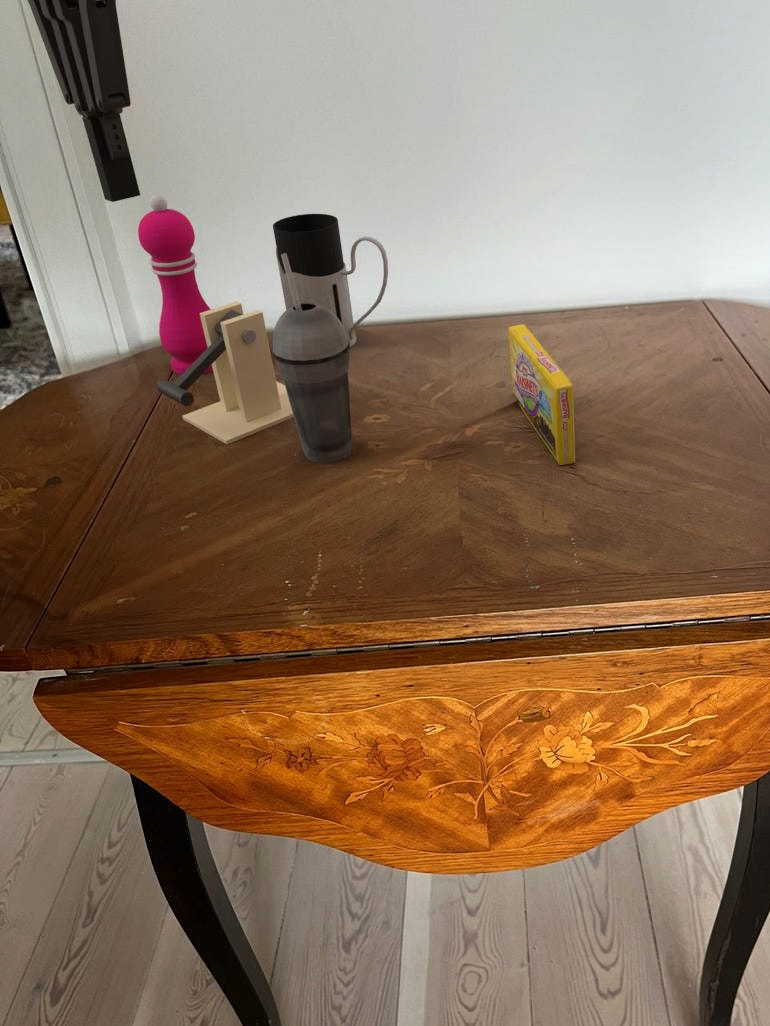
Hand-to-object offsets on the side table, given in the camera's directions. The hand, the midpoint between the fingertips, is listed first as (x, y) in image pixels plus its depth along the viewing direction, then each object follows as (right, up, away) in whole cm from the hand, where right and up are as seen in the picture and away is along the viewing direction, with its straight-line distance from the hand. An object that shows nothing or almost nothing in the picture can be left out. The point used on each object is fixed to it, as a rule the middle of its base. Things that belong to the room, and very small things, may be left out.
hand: (122, 197), depth 85 cm
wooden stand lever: (+4, -11, +13) cm, 18 cm away
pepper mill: (-2, -7, +31) cm, 32 cm away
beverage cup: (+17, -21, +11) cm, 29 cm away
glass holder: (+15, -4, +34) cm, 37 cm away
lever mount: (+7, -15, +19) cm, 26 cm away
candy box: (+38, -18, +14) cm, 44 cm away
